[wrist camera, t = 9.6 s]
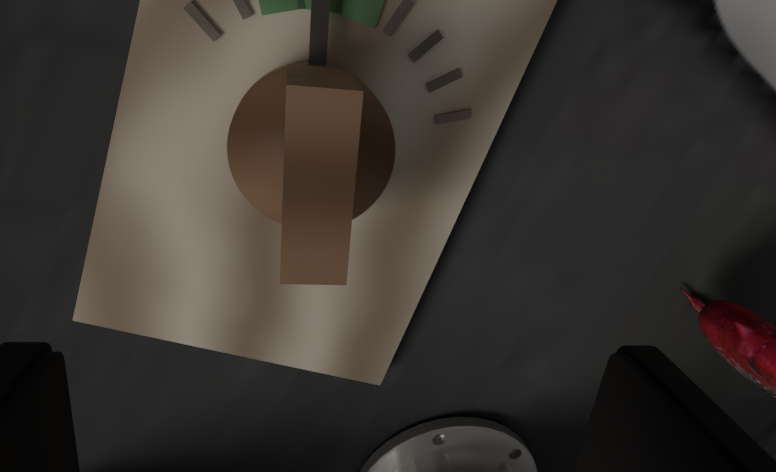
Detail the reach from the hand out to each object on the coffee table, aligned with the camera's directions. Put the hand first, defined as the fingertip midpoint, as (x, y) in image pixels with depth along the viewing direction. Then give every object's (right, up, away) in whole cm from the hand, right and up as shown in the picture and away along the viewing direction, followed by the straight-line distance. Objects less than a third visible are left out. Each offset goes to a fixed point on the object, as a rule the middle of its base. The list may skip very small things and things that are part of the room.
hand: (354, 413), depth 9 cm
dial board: (-3, +8, +16) cm, 19 cm away
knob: (-3, +9, +14) cm, 17 cm away
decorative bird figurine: (+22, -2, +26) cm, 34 cm away
